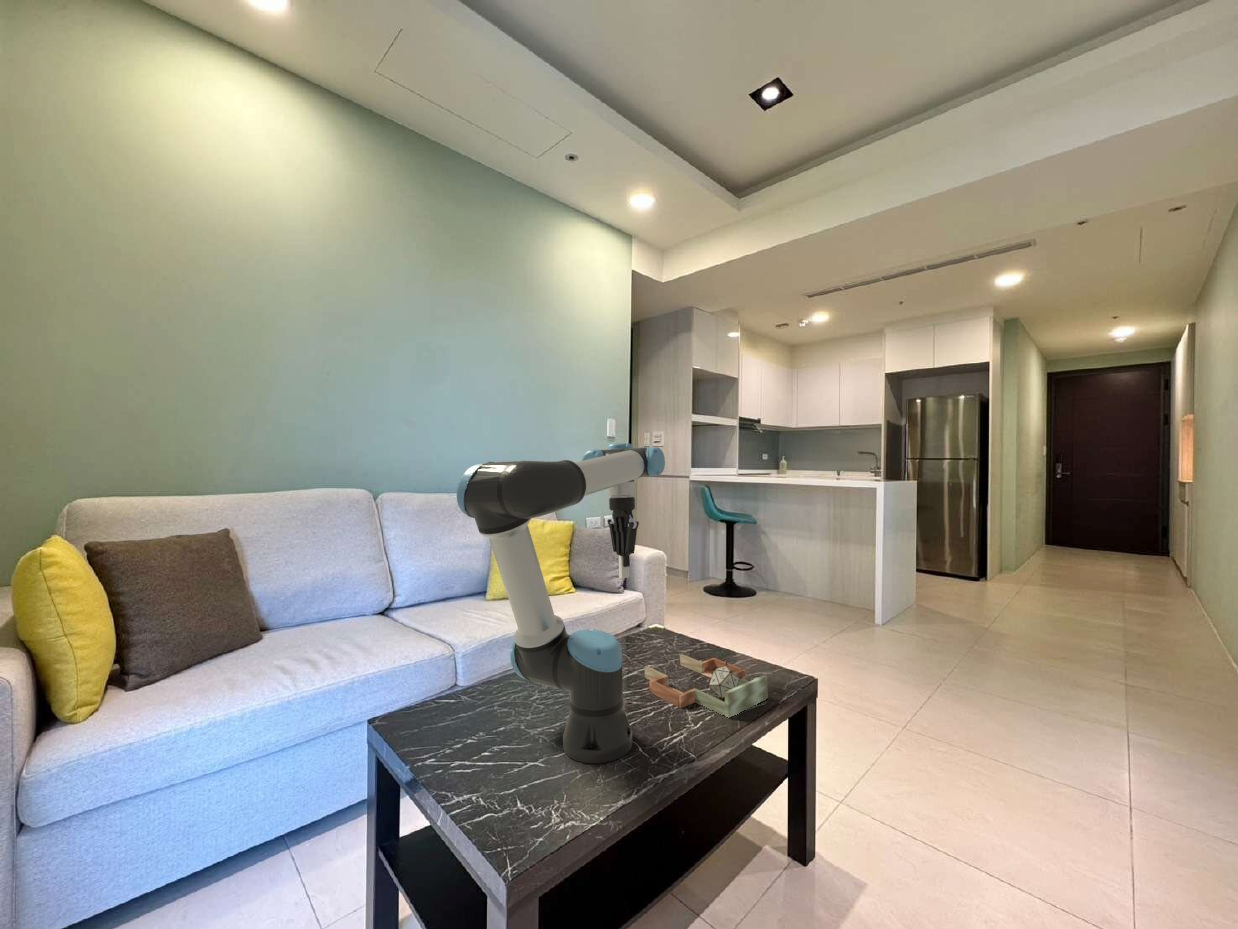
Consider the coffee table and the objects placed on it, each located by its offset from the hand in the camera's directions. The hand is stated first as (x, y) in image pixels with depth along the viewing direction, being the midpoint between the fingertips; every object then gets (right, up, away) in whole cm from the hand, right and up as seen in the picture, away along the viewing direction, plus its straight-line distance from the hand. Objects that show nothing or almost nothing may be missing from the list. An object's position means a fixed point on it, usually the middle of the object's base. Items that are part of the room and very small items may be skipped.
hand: (624, 577), depth 145 cm
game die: (+26, -28, -16) cm, 41 cm away
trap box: (+21, -28, -10) cm, 36 cm away
